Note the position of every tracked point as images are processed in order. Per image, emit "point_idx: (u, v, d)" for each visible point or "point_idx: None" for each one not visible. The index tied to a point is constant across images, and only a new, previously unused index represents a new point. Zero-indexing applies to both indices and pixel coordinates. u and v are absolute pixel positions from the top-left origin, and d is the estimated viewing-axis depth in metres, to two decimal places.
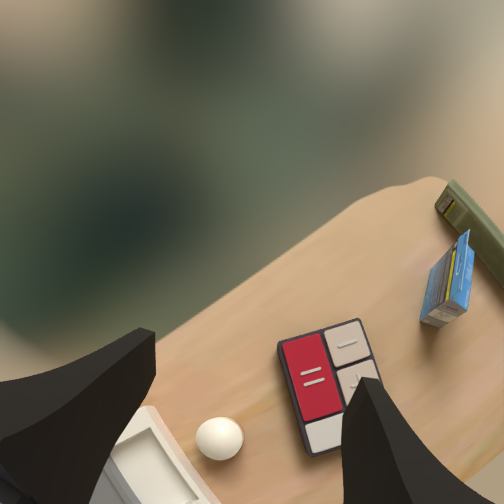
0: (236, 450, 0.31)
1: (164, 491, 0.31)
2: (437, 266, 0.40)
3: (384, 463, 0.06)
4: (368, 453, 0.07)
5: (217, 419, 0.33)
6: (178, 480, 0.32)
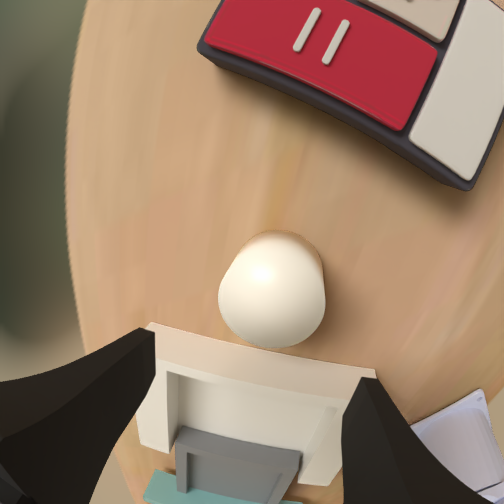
0: (320, 296, 0.15)
1: (285, 417, 0.22)
2: None
3: (384, 463, 0.06)
4: (368, 453, 0.07)
5: (231, 271, 0.15)
6: None
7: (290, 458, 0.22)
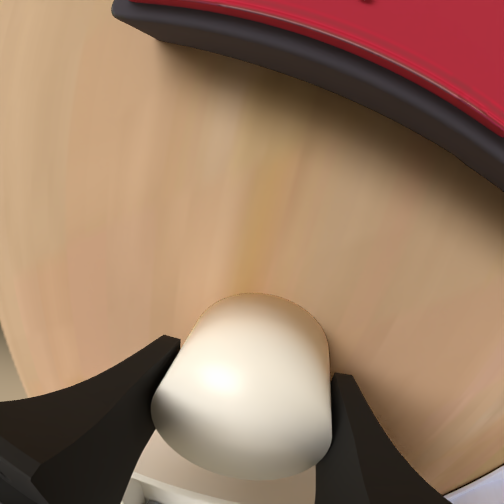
0: (323, 430, 0.07)
1: None
2: None
3: (349, 461, 0.06)
4: (337, 451, 0.07)
5: (165, 388, 0.08)
6: None
7: None
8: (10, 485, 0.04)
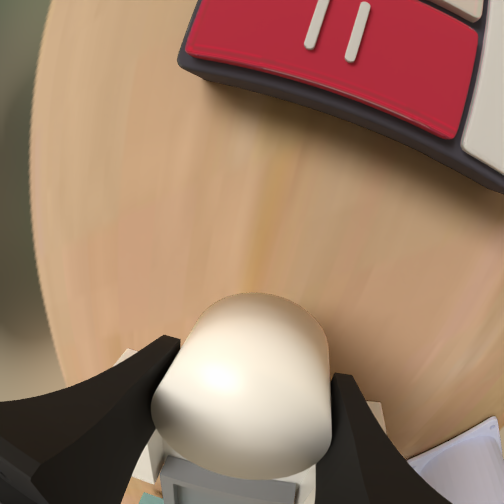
0: (323, 429, 0.07)
1: None
2: None
3: (349, 461, 0.06)
4: (336, 451, 0.07)
5: (165, 387, 0.08)
6: None
7: (285, 491, 0.19)
8: (10, 485, 0.04)
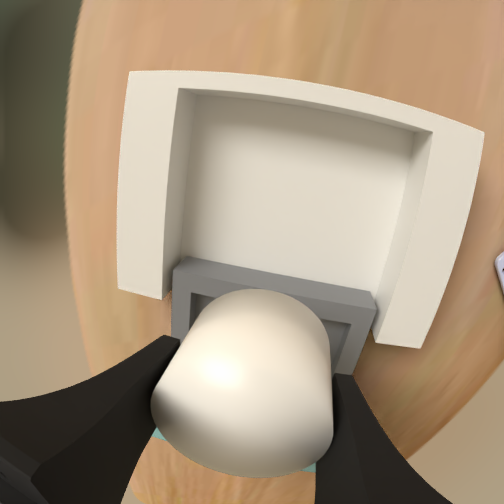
0: (325, 426, 0.07)
1: (349, 207, 0.15)
2: None
3: (349, 461, 0.06)
4: (336, 451, 0.07)
5: (166, 383, 0.08)
6: (348, 152, 0.14)
7: (359, 296, 0.16)
8: (10, 485, 0.04)
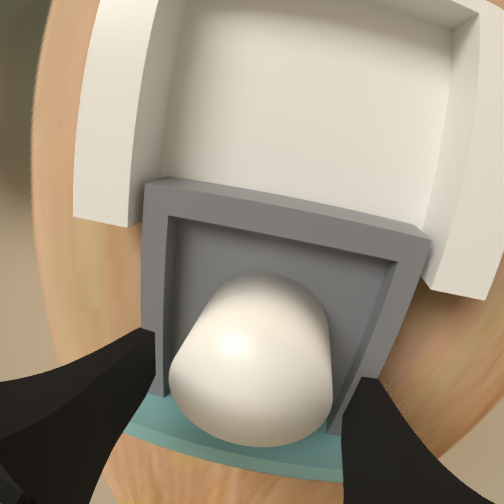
0: (325, 391, 0.09)
1: (383, 108, 0.10)
2: None
3: (384, 463, 0.06)
4: (368, 453, 0.07)
5: (184, 353, 0.09)
6: (378, 42, 0.10)
7: (404, 226, 0.11)
8: None
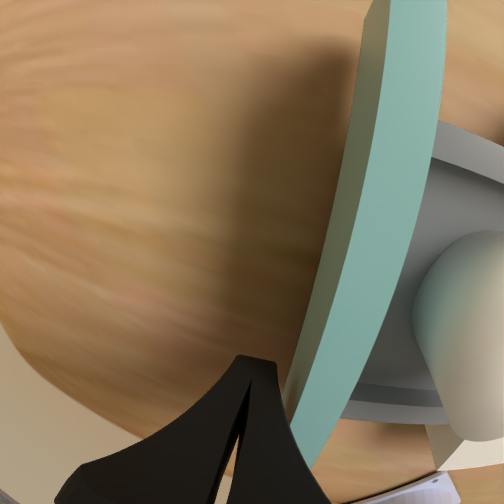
0: None
1: None
2: None
3: None
4: (242, 436, 0.08)
5: None
6: None
7: None
8: None
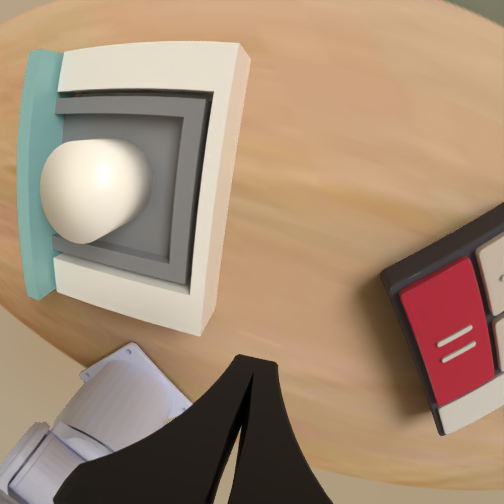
0: (87, 238, 0.15)
1: None
2: None
3: None
4: (244, 436, 0.08)
5: (95, 152, 0.13)
6: None
7: (191, 265, 0.19)
8: None
